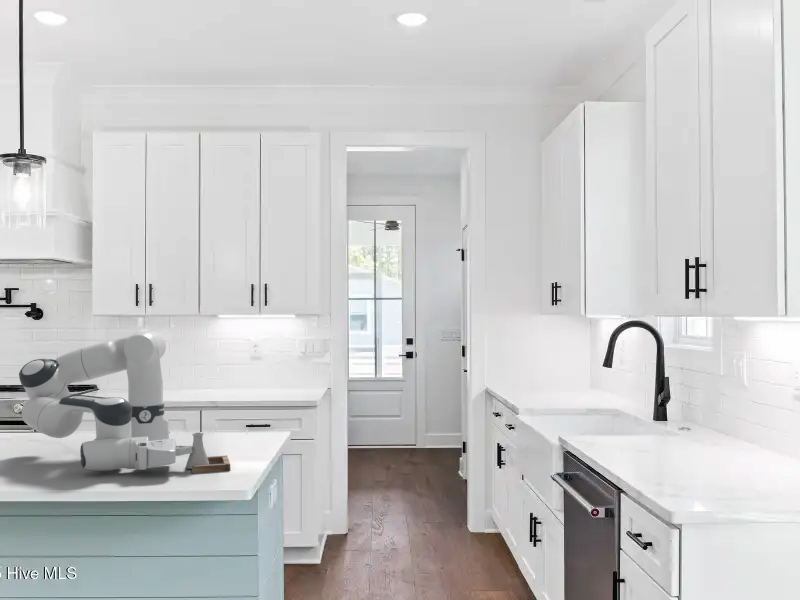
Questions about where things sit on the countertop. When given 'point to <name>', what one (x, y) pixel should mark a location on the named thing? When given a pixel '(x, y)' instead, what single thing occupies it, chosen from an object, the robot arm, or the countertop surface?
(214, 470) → the dock
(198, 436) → the flask
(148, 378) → the robot arm
